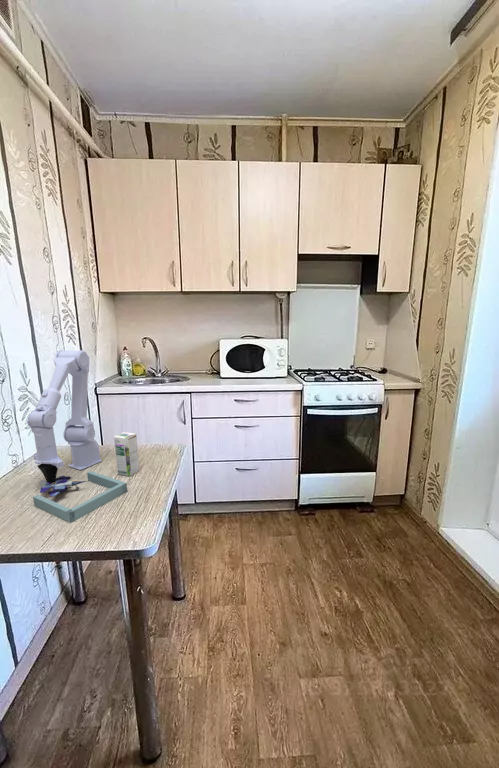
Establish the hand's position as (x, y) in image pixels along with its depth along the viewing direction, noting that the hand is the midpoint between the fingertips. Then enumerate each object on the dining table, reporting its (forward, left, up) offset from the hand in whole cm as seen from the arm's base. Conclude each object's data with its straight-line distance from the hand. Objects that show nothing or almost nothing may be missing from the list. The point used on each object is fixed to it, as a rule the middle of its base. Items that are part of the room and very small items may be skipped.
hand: (51, 482), depth 123 cm
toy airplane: (0, +8, -1) cm, 8 cm away
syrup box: (-20, +15, -1) cm, 25 cm away
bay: (0, +16, -1) cm, 16 cm away
